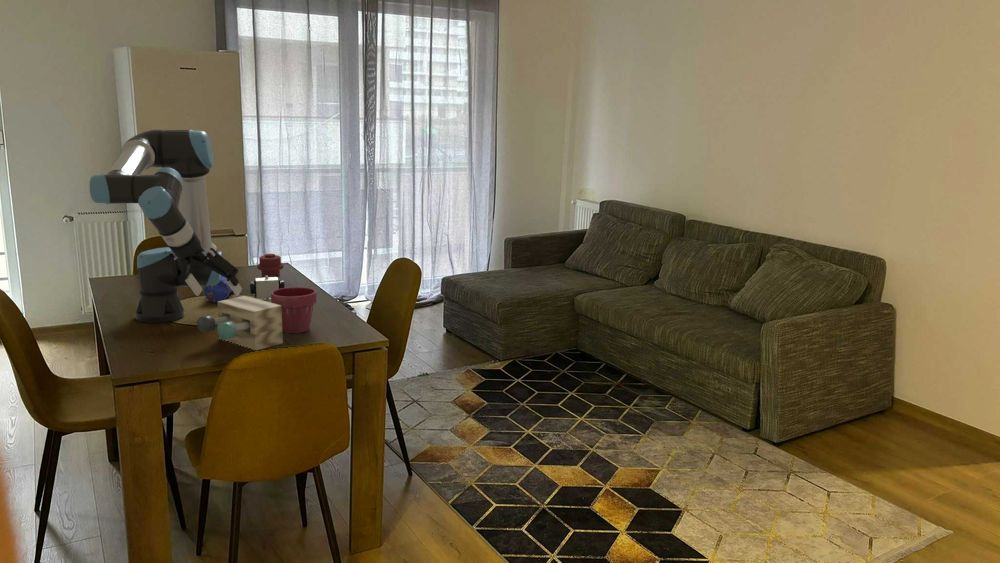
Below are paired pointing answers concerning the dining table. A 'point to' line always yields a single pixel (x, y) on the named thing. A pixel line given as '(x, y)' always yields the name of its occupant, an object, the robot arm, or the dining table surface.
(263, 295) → the pneumatic valve
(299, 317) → the plant pot
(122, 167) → the robot arm
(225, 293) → the pencil case
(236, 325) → the knob teal
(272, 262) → the mechanical component
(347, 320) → the dining table surface
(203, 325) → the knob charcoal
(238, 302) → the block
